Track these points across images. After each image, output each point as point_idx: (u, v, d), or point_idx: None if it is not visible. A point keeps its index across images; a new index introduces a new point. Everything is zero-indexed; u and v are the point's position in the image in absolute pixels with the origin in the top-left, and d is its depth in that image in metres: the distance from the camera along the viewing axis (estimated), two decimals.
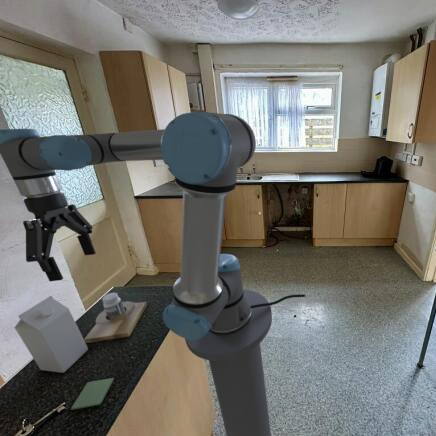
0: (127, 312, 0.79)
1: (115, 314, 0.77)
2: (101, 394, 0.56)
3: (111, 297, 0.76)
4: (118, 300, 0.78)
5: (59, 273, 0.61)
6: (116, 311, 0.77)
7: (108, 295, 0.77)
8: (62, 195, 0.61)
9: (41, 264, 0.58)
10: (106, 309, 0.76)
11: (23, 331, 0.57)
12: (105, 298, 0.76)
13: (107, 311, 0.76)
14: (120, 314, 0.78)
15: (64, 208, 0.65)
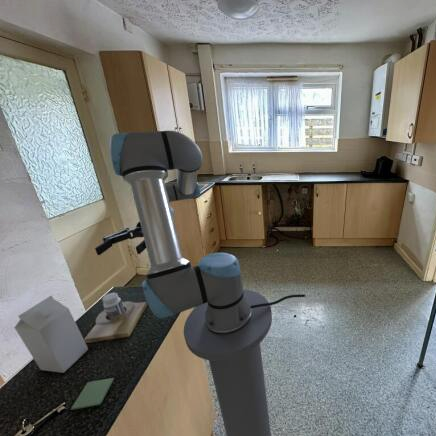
0: (127, 312, 0.79)
1: (115, 314, 0.77)
2: (101, 394, 0.56)
3: (111, 297, 0.76)
4: (118, 300, 0.78)
5: (99, 245, 0.81)
6: (116, 311, 0.77)
7: (108, 295, 0.77)
8: None
9: None
10: (106, 309, 0.76)
11: (23, 331, 0.57)
12: (105, 298, 0.76)
13: (107, 311, 0.76)
14: (120, 314, 0.78)
15: None
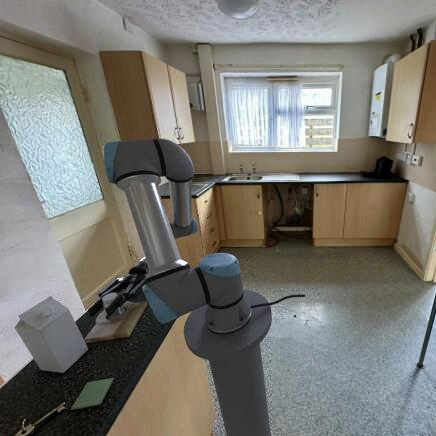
0: (127, 312, 0.79)
1: (115, 314, 0.77)
2: (101, 394, 0.56)
3: (111, 297, 0.76)
4: None
5: (93, 305, 0.74)
6: (116, 311, 0.77)
7: (108, 295, 0.77)
8: (141, 262, 0.92)
9: None
10: None
11: (23, 331, 0.57)
12: (105, 298, 0.76)
13: None
14: (120, 314, 0.78)
15: (143, 274, 0.89)
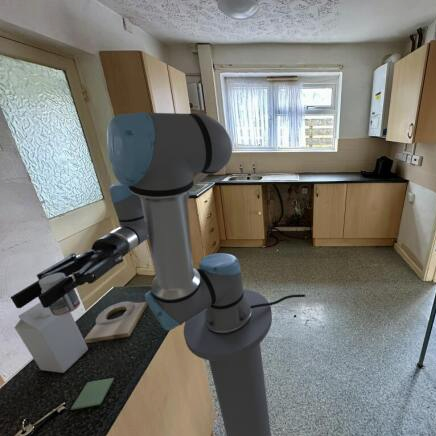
0: (127, 312, 0.79)
1: (61, 305, 0.50)
2: (101, 394, 0.56)
3: (54, 279, 0.49)
4: None
5: (22, 291, 0.47)
6: (62, 300, 0.50)
7: (50, 276, 0.50)
8: (111, 235, 0.65)
9: None
10: None
11: (23, 331, 0.57)
12: (44, 280, 0.49)
13: None
14: (69, 305, 0.51)
15: (111, 250, 0.62)
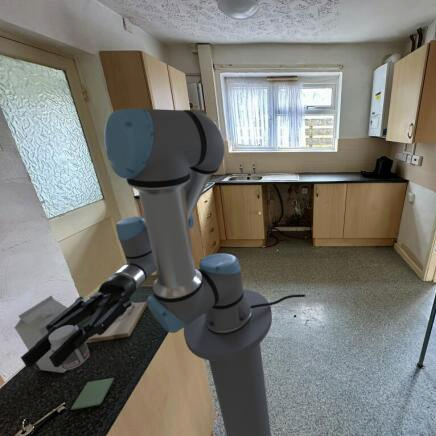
0: (127, 312, 0.79)
1: (71, 359, 0.50)
2: (101, 394, 0.56)
3: (64, 335, 0.48)
4: None
5: (32, 349, 0.46)
6: (72, 354, 0.49)
7: (59, 330, 0.50)
8: (118, 275, 0.64)
9: None
10: None
11: (23, 331, 0.57)
12: (53, 335, 0.48)
13: None
14: (79, 358, 0.51)
15: (120, 293, 0.61)
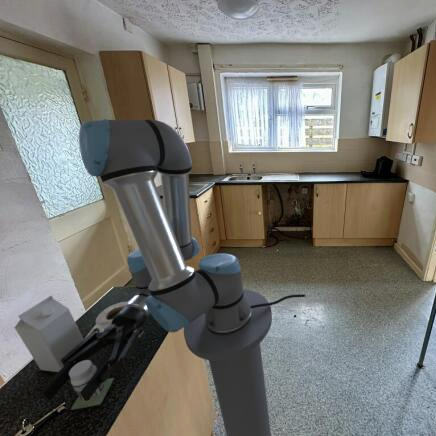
0: None
1: None
2: (101, 394, 0.56)
3: (83, 370, 0.52)
4: (93, 372, 0.54)
5: (50, 383, 0.51)
6: None
7: (78, 365, 0.54)
8: (130, 307, 0.68)
9: None
10: (75, 387, 0.52)
11: (23, 331, 0.57)
12: (73, 371, 0.52)
13: (76, 390, 0.53)
14: (96, 391, 0.55)
15: (132, 325, 0.65)
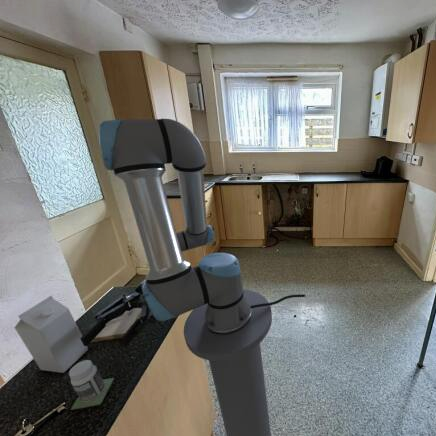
0: (127, 312, 0.79)
1: (89, 392, 0.54)
2: (101, 394, 0.56)
3: (83, 370, 0.52)
4: (93, 372, 0.54)
5: (87, 332, 0.61)
6: (90, 388, 0.53)
7: (78, 365, 0.54)
8: None
9: None
10: (75, 387, 0.52)
11: (23, 331, 0.57)
12: (73, 371, 0.52)
13: (76, 390, 0.53)
14: (96, 391, 0.55)
15: None
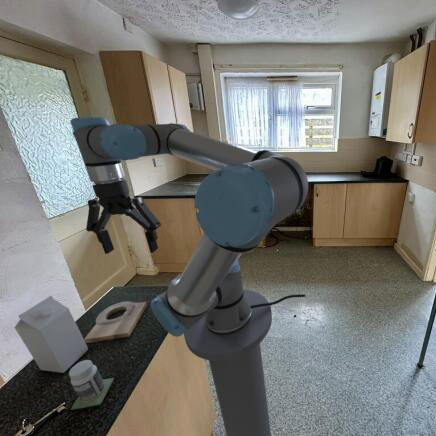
0: (127, 312, 0.79)
1: (89, 392, 0.54)
2: (101, 394, 0.56)
3: (83, 370, 0.52)
4: (93, 372, 0.54)
5: (104, 248, 0.69)
6: (90, 388, 0.53)
7: (78, 365, 0.54)
8: (102, 187, 0.59)
9: None
10: (75, 387, 0.52)
11: (23, 331, 0.57)
12: (73, 371, 0.52)
13: (76, 390, 0.53)
14: (96, 391, 0.55)
15: (123, 199, 0.63)
